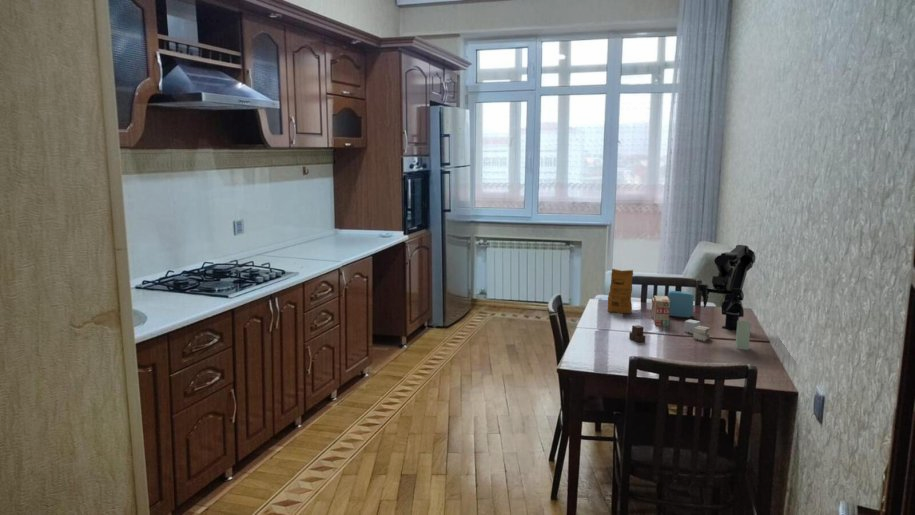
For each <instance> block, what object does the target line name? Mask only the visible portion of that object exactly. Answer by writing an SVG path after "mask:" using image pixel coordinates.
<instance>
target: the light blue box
mask: <svg viewBox="0 0 915 515" xmlns="http://www.w3.org/2000/svg"><path fill="white" fill-rule="evenodd" d="M694 295H695V294H694V293H693V292H689V291H688V292H687V291H679V290H678V291H677V290H671V291H669V292H668V294H667V297H668V298H669V301H670V312H669V317H670V316H671V317H680V318H688V319H689V318H692V316H693V315H694V314H693V312H694V297H695V296H694Z"/></svg>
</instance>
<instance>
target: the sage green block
mask: <svg viewBox="0 0 915 515" xmlns="http://www.w3.org/2000/svg"><path fill="white" fill-rule="evenodd" d="M751 325H752V324H751V322H750V321H749V320H748V321H747V320H746V321H745V320H739V321H737V330H736V332H735V333H736V334H735V346H734V347H736V349H737V350H747V351H749V350H750V339H751V338H750V337H751V335H750V334H751Z"/></svg>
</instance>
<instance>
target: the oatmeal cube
mask: <svg viewBox="0 0 915 515" xmlns="http://www.w3.org/2000/svg"><path fill="white" fill-rule="evenodd" d="M710 332H711V328H710V327H707V326H703V325H700V326H697V327H695V328H694V334H693V335H692V337H693V338H692V339H693V340H697V339H698V341H702V340H703V342H705V341H707V339H708V340H709V339H710Z"/></svg>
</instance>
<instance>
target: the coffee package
mask: <svg viewBox="0 0 915 515" xmlns="http://www.w3.org/2000/svg"><path fill="white" fill-rule="evenodd" d="M610 276H611V277H610V278H611V279H610V285H609V286H610V287H609V293H608V296H607V312H608V311H610V312H609V313H618V314H631V312H632V311H633V306H632V293H633V277H634V270H633V269H628V270H620V269H615V268H612V270H611V274H610Z"/></svg>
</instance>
